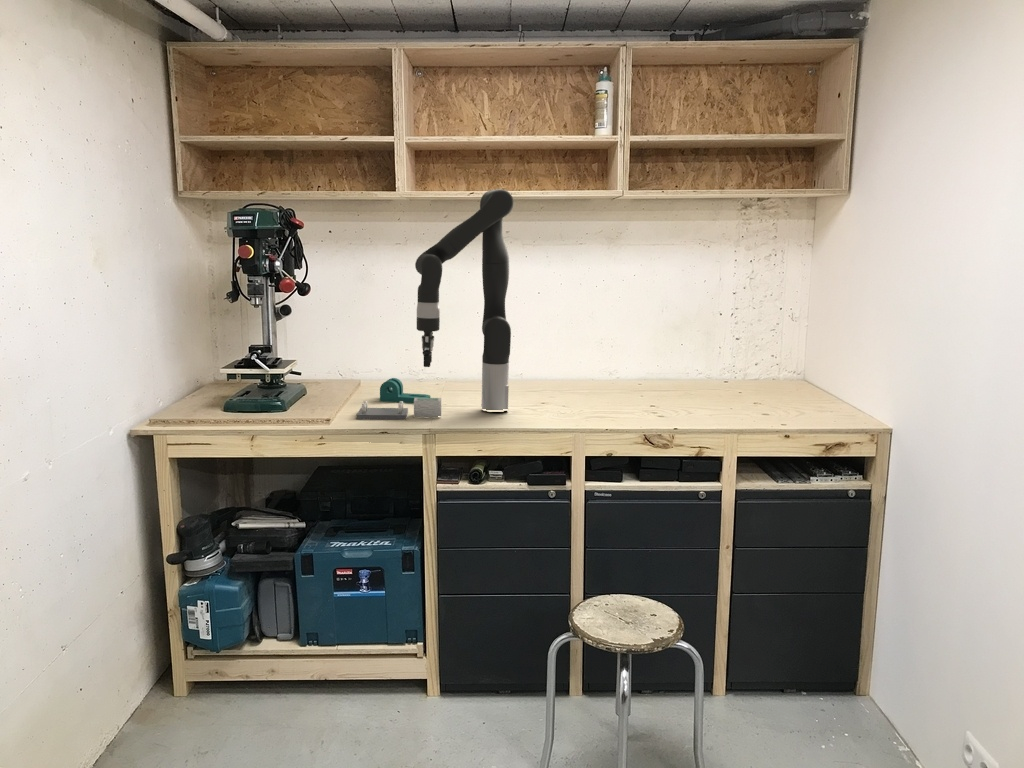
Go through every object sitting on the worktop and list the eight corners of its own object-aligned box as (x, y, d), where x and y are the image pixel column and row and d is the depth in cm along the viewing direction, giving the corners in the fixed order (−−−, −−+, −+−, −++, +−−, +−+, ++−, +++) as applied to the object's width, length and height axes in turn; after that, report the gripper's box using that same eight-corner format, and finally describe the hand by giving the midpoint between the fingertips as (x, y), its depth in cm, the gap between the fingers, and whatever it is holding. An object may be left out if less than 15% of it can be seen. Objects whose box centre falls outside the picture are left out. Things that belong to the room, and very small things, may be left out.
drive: (441, 415, 234) (441, 397, 233) (440, 418, 229) (440, 400, 228) (414, 414, 233) (414, 397, 232) (413, 418, 229) (413, 400, 228)
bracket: (380, 401, 251) (379, 380, 249) (385, 398, 258) (385, 377, 256) (427, 404, 249) (428, 383, 247) (432, 400, 255) (432, 379, 254)
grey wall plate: (408, 412, 236) (407, 399, 235) (405, 419, 226) (405, 406, 225) (360, 411, 234) (360, 399, 234) (356, 419, 225) (356, 405, 224)
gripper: (438, 318, 218) (438, 368, 221) (440, 314, 232) (439, 361, 235) (415, 318, 217) (414, 368, 221) (418, 313, 231) (417, 360, 234)
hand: (427, 364), depth 228 cm, fingers open, 8 cm apart
